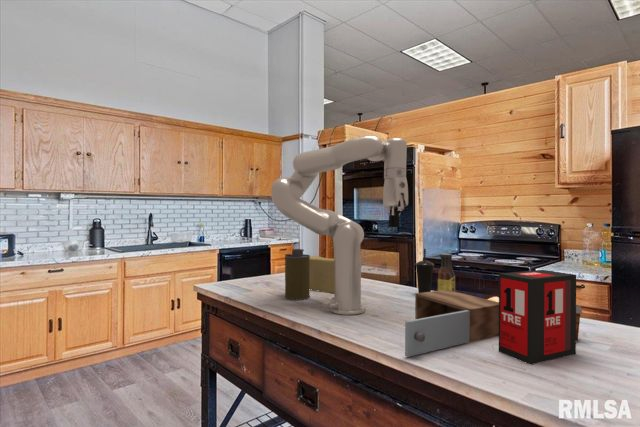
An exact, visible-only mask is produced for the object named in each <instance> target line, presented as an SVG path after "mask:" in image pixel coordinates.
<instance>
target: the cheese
mask: <svg viewBox="0 0 640 427" xmlns="http://www.w3.org/2000/svg"><path fill="white" fill-rule="evenodd" d="M334 271H335V267H334V258H327V257H322V256H318V255H310V280H309V289H312V290H311V291H315V290H319V291H318V292H322V291H325V292H324V293H328V292H331V293H330V294H334Z"/></svg>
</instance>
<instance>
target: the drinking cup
mask: <svg viewBox="0 0 640 427" xmlns="http://www.w3.org/2000/svg"><path fill="white" fill-rule="evenodd" d="M426 250H427V249H426V248H424V249H423V260H420V261H418V262H417V261H416V263H415V267H416V269H415V270H416V278H417V279H416V280H417V290H418V292H417V293H424V292H432V283H433V274H434V272H433V271H434V266H435V263H433V262H431V261H429V260H426V259H427V258H426V257H427V256H426V254H427V253H426V252H427V251H426Z"/></svg>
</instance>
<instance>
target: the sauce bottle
mask: <svg viewBox="0 0 640 427" xmlns="http://www.w3.org/2000/svg"><path fill="white" fill-rule="evenodd" d="M452 258H453V254H452V253H440V265H441V266H440V268H438V271H437V291H440V290H450V291H454V292H456V274H455V272H454V269H453V266H452V264H453V263H452Z"/></svg>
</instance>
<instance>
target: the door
mask: <svg viewBox="0 0 640 427" xmlns="http://www.w3.org/2000/svg"><path fill="white" fill-rule="evenodd" d="M404 322H405V324H404V325H405V328H404V329H405V331H404V332H405V333H404V341H405V342H404V356H405V357H408V358H409V357H412V356H417V355H422V354H425V353H430V352H434V351H437V350H441V349H446V348H450V347H454V346H457V345H461V344H466V343H470V342H469V326H470V311H468V310H464V311H459V312H453V313H448V314H442V315H437V316H431V317H426V318H420V319H410V320H405V321H404Z"/></svg>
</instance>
